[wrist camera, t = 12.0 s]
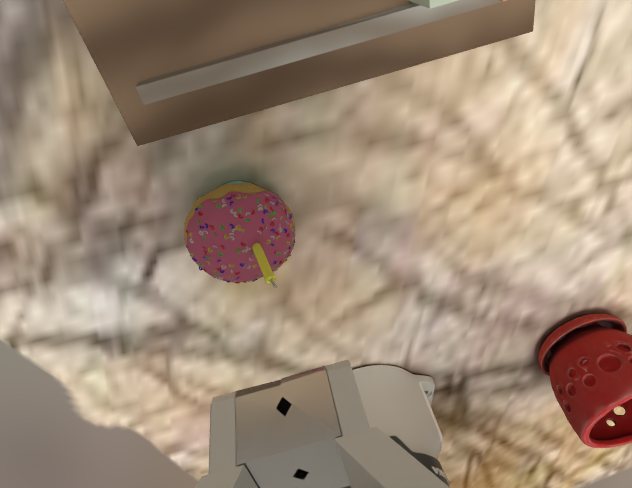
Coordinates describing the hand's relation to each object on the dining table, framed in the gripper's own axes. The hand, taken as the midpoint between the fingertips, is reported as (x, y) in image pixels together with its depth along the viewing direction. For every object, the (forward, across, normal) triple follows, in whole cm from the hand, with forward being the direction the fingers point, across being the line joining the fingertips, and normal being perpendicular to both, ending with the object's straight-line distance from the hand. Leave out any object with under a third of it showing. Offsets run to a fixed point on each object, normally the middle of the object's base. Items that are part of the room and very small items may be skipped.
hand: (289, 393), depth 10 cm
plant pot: (+29, -32, +44) cm, 61 cm away
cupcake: (+28, +4, +10) cm, 30 cm away
